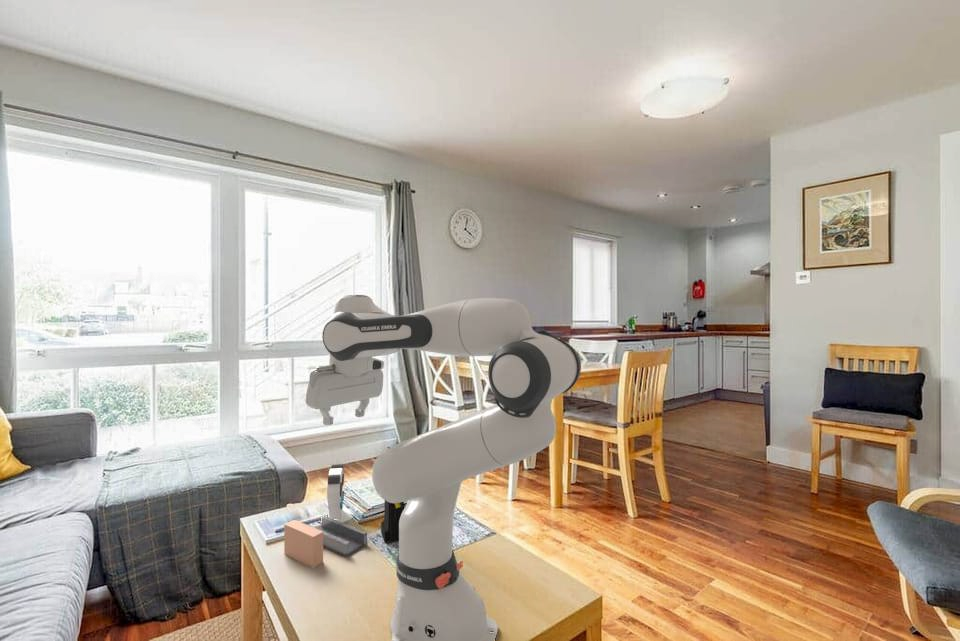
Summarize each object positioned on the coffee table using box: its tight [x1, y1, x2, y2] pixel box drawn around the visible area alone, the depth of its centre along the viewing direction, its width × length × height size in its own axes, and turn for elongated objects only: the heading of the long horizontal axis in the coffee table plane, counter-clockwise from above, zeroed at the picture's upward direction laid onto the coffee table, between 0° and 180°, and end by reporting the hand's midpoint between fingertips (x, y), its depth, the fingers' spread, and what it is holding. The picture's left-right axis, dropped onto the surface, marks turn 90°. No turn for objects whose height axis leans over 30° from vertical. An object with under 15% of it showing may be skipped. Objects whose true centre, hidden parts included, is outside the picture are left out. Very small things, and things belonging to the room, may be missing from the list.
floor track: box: [306, 516, 368, 558], centre depth 124 cm, size 18×7×4 cm, turn 57°
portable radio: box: [380, 446, 405, 543], centre depth 127 cm, size 8×6×25 cm
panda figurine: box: [326, 463, 354, 524], centre depth 139 cm, size 12×11×15 cm
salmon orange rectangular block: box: [283, 519, 324, 569], centre depth 116 cm, size 12×3×8 cm, turn 57°
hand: (344, 420), depth 106 cm, fingers open, 8 cm apart
